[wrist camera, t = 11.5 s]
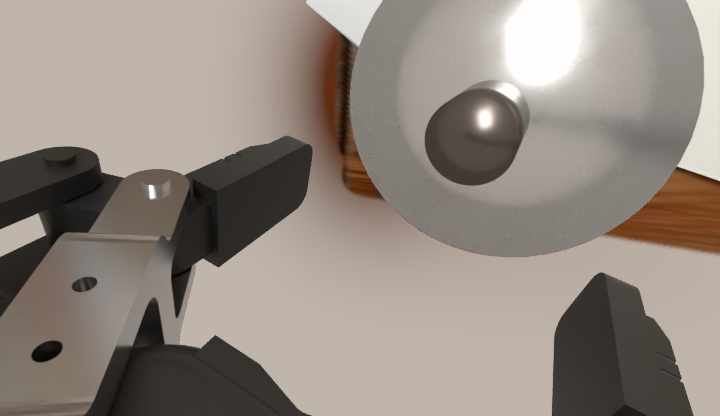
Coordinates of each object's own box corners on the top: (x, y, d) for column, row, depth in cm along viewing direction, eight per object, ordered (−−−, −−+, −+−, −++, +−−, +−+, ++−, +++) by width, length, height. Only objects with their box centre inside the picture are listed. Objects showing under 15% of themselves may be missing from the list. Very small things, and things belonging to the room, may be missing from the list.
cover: (695, -7, 27) (941, -50, 9) (572, 185, 36) (566, 360, 18) (476, -55, 32) (338, -147, 14) (419, 125, 41) (292, 214, 23)
